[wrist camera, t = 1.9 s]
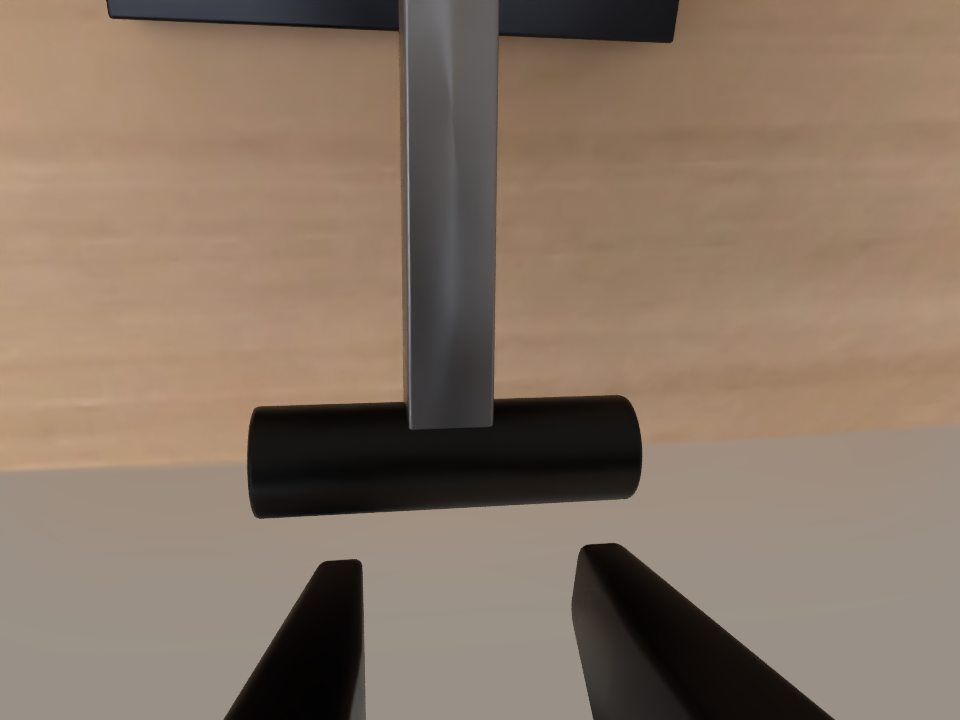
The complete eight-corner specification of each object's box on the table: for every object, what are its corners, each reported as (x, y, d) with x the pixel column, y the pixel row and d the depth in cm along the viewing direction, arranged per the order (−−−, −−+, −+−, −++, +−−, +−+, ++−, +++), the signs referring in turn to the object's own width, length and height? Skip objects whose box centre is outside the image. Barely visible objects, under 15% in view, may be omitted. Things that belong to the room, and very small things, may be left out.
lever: (596, 466, 12) (654, 530, 9) (269, 480, 11) (244, 556, 9) (637, -463, 9) (730, -687, 7) (215, -529, 8) (162, -803, 6)
